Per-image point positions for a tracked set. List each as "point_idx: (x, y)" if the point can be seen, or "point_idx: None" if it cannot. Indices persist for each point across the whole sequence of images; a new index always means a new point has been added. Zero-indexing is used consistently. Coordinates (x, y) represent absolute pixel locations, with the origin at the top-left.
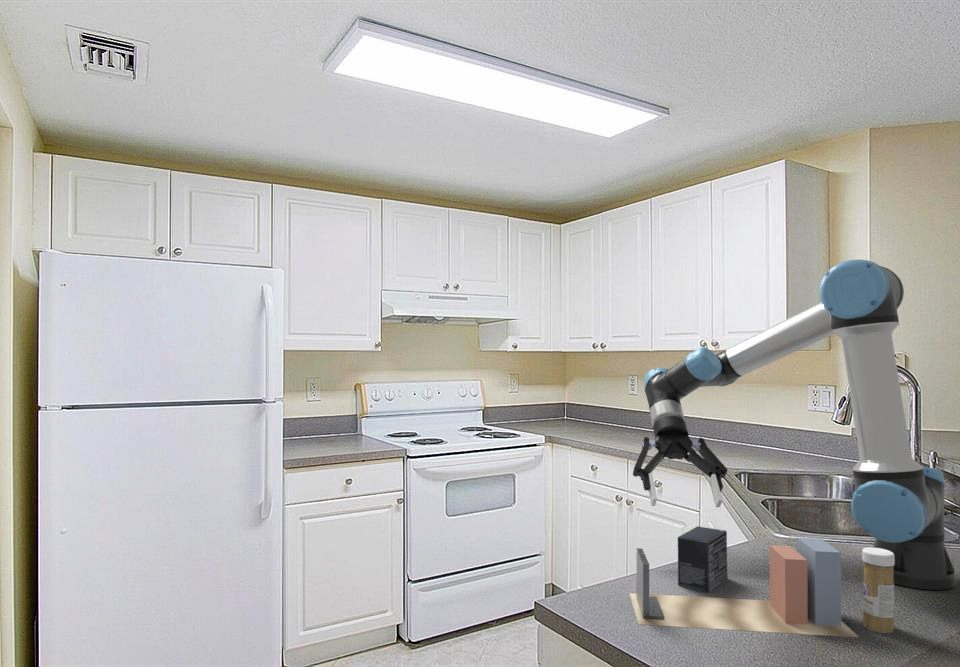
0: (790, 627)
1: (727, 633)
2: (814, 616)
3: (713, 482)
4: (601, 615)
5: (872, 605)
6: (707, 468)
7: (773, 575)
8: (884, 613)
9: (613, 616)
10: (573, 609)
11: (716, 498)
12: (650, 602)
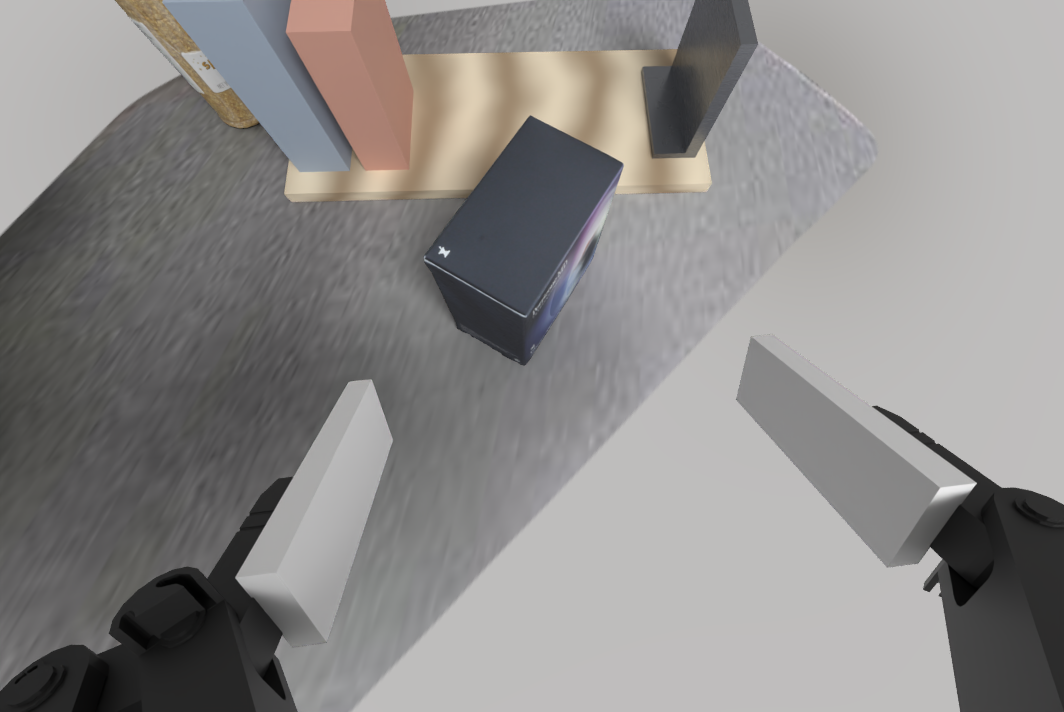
0: (411, 75)
1: None
2: None
3: (322, 505)
4: (755, 107)
5: None
6: (263, 702)
7: (384, 80)
8: None
9: (732, 106)
10: (813, 124)
11: (372, 427)
12: (667, 123)
